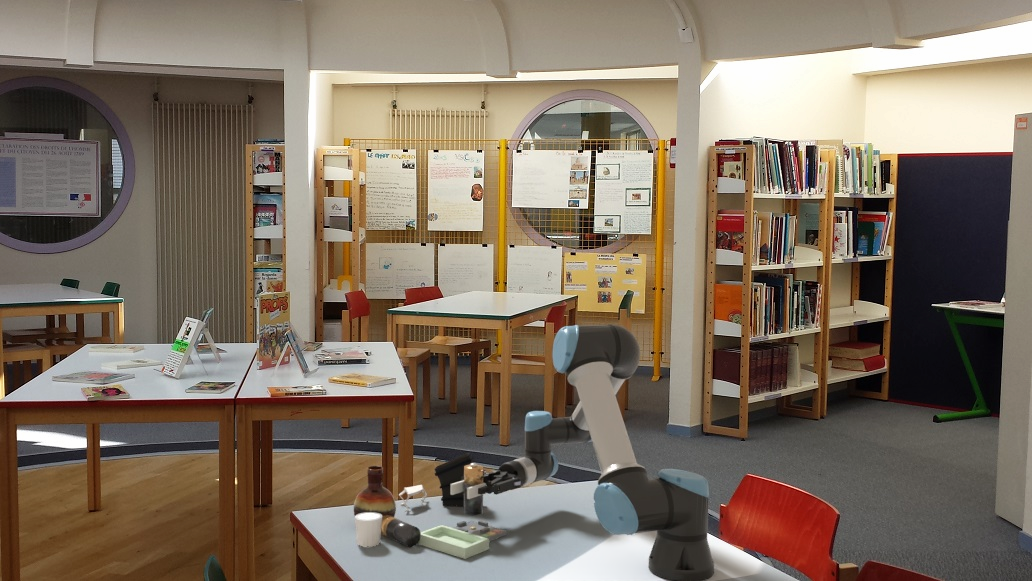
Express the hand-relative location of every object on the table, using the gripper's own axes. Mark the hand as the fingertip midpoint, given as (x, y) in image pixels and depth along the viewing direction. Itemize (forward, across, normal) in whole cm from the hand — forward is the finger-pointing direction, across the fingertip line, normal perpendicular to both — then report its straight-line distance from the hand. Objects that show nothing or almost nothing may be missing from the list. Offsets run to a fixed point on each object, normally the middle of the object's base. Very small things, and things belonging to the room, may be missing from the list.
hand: (459, 491), depth 237 cm
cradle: (-5, -2, -12) cm, 13 cm away
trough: (+6, -3, -12) cm, 14 cm away
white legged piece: (-11, +28, -12) cm, 32 cm away
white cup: (+18, +14, -12) cm, 26 cm away
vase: (+7, +24, -12) cm, 27 cm away
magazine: (-20, +19, -12) cm, 30 cm away
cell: (-5, 0, -7) cm, 8 cm away
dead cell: (+12, +10, -12) cm, 20 cm away
